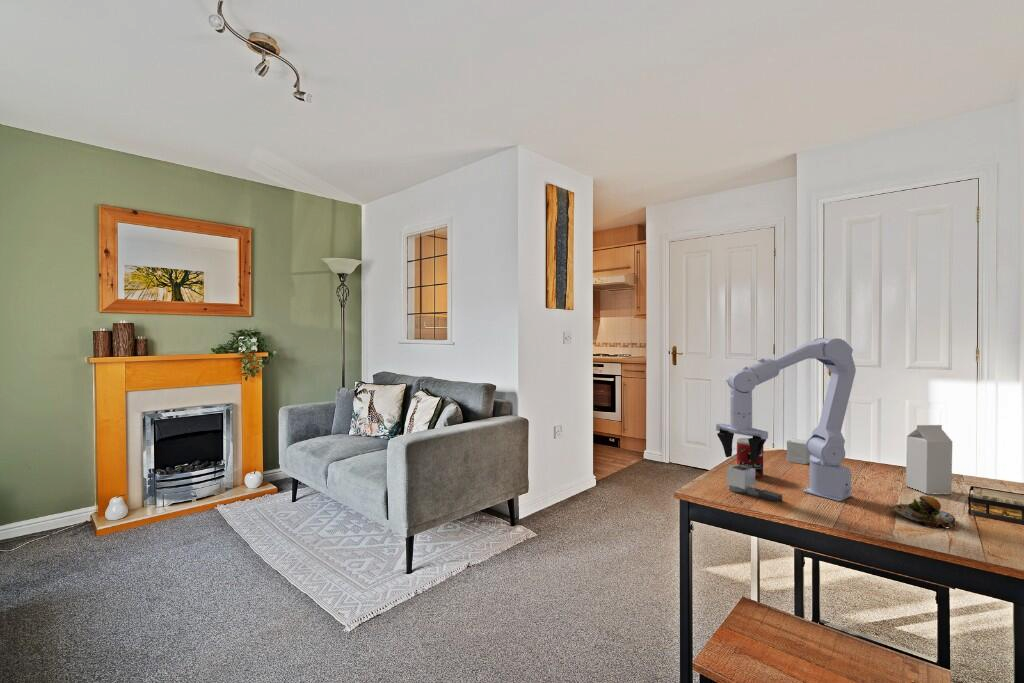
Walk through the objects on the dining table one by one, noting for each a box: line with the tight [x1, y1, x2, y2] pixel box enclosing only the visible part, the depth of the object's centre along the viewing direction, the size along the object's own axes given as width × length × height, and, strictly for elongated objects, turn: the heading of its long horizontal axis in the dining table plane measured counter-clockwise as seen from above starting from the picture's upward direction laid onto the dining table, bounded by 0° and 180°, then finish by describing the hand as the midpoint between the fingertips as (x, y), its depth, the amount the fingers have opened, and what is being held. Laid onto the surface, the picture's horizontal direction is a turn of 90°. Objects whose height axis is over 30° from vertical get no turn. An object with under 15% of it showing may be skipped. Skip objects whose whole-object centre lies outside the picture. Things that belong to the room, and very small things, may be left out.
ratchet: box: [728, 485, 783, 504], centre depth 135 cm, size 14×6×5 cm, turn 34°
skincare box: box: [786, 438, 810, 465], centre depth 168 cm, size 6×6×7 cm
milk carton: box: [905, 424, 953, 495], centre depth 137 cm, size 7×7×19 cm
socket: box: [726, 463, 756, 489], centre depth 138 cm, size 5×5×5 cm
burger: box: [892, 494, 956, 529], centre depth 117 cm, size 12×12×8 cm
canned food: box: [736, 437, 764, 479], centre depth 153 cm, size 8×8×11 cm
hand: (741, 459), depth 138 cm, fingers open, 7 cm apart
